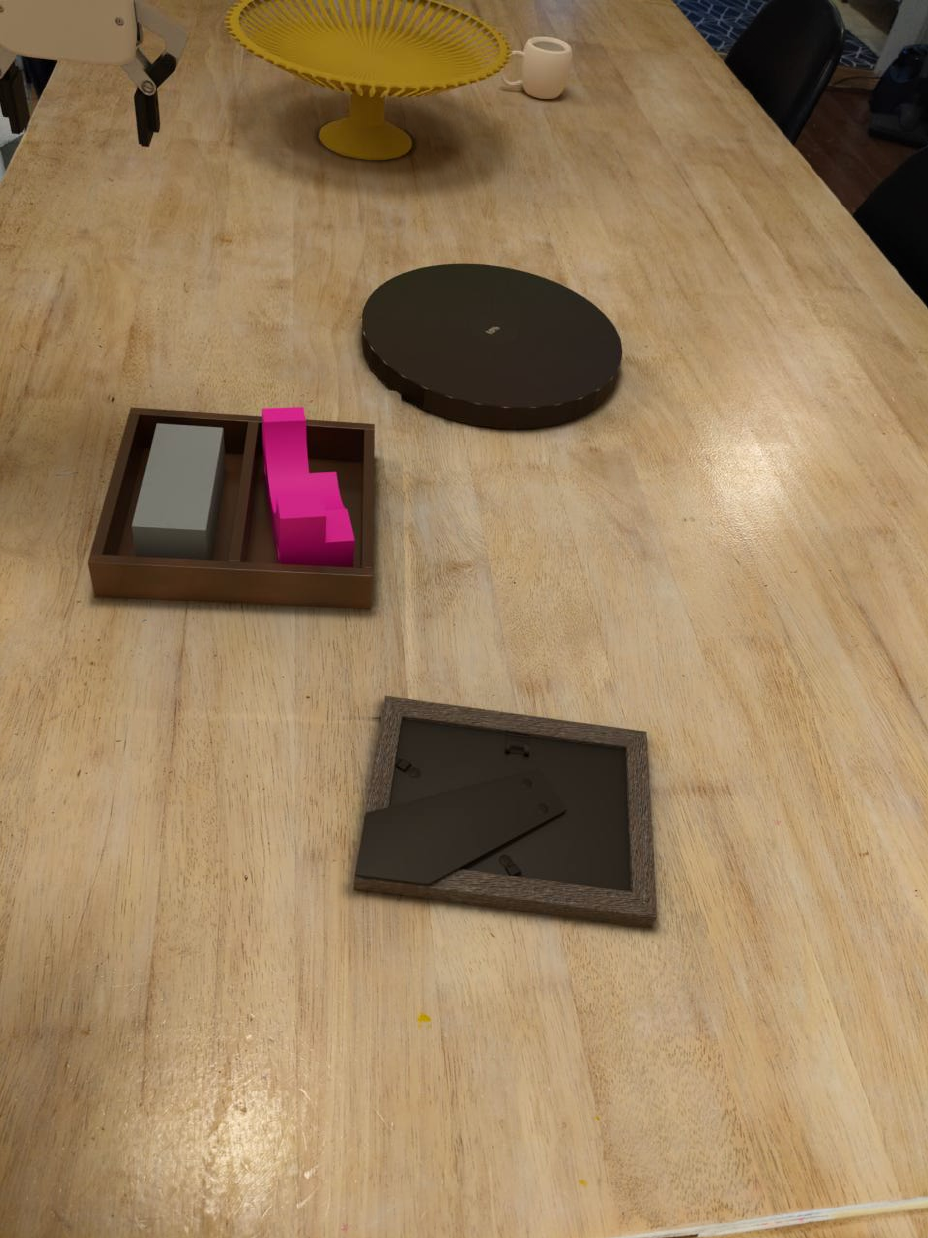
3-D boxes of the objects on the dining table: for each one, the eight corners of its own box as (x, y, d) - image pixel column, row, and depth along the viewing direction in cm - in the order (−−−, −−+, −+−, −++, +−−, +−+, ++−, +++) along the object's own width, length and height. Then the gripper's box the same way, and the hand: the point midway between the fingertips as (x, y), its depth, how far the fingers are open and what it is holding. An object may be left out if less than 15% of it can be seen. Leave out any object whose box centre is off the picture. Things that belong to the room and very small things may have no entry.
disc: (434, 259, 132) (436, 236, 130) (650, 337, 126) (657, 315, 123) (310, 366, 113) (310, 342, 110) (558, 465, 106) (564, 442, 104)
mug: (559, 85, 179) (568, 36, 174) (570, 105, 174) (579, 55, 168) (492, 80, 177) (499, 30, 171) (501, 100, 171) (508, 49, 166)
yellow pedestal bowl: (174, 111, 153) (165, -1, 142) (384, 71, 174) (390, -30, 163) (341, 227, 135) (345, 109, 124) (552, 166, 156) (571, 60, 145)
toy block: (352, 577, 91) (356, 513, 85) (280, 583, 89) (280, 518, 84) (328, 469, 100) (330, 405, 95) (263, 472, 99) (261, 408, 93)
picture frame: (353, 888, 71) (651, 927, 72) (354, 874, 69) (658, 914, 70) (383, 707, 82) (641, 743, 83) (385, 692, 80) (647, 728, 81)
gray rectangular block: (138, 569, 88) (131, 525, 84) (161, 465, 98) (156, 422, 94) (209, 572, 89) (205, 529, 85) (226, 469, 98) (223, 427, 95)
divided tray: (95, 601, 86) (87, 562, 82) (135, 445, 100) (130, 406, 97) (370, 613, 89) (373, 576, 85) (372, 460, 103) (374, 423, 100)
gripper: (186, -122, 73) (201, 125, 85) (-72, -156, 71) (-18, 103, 83) (171, -94, 68) (189, 165, 80) (-107, -130, 65) (-44, 142, 78)
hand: (84, 133), depth 82 cm, fingers open, 9 cm apart
